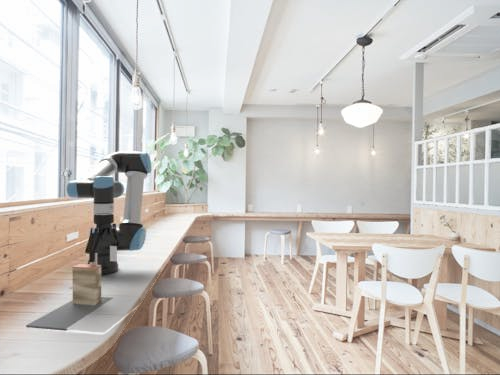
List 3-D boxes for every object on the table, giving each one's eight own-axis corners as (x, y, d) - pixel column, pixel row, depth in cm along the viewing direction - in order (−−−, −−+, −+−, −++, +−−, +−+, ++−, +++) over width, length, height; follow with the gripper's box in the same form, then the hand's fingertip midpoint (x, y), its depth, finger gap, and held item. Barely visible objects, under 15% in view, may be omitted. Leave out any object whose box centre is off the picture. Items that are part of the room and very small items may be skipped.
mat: (81, 296, 126) (81, 295, 126) (113, 299, 124) (113, 297, 124) (26, 327, 101) (26, 325, 101) (65, 330, 99) (65, 328, 99)
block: (79, 299, 122) (79, 263, 122) (101, 301, 121) (101, 264, 120) (72, 303, 118) (72, 266, 118) (94, 305, 117) (94, 267, 116)
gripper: (92, 217, 116) (93, 274, 117) (128, 211, 141) (128, 258, 141) (74, 217, 117) (74, 273, 118) (112, 210, 142) (112, 257, 142)
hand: (103, 265), depth 130 cm, fingers open, 13 cm apart
